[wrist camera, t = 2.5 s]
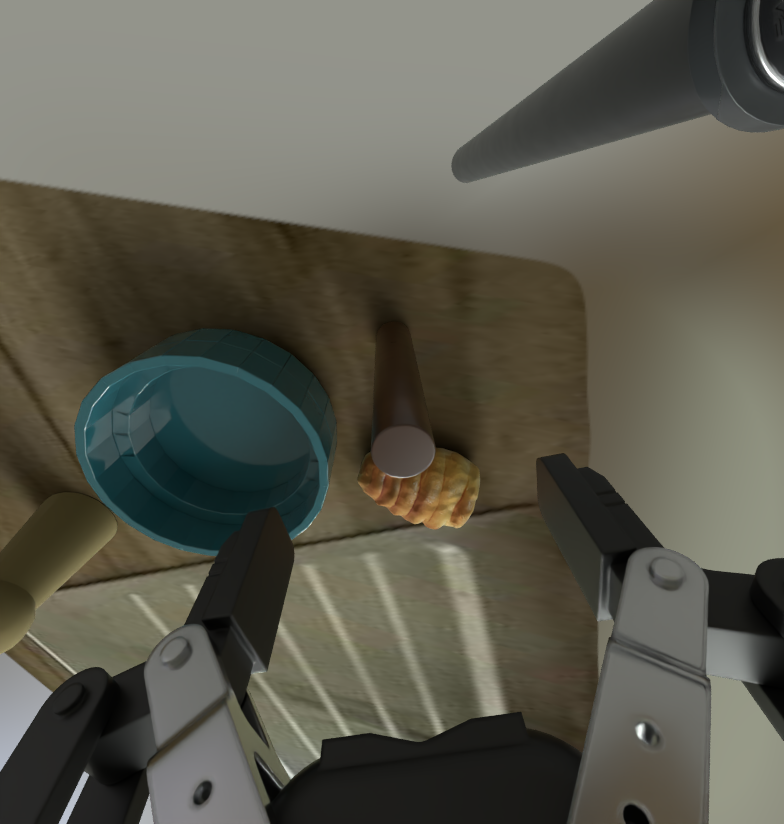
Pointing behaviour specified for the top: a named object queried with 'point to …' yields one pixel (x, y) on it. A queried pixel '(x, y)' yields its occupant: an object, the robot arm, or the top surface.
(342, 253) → the top surface
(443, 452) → the pastry
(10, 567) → the cork
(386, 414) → the stirring stick
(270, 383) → the bowl
